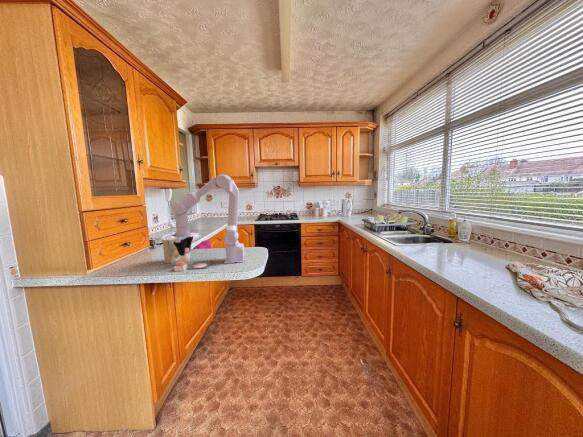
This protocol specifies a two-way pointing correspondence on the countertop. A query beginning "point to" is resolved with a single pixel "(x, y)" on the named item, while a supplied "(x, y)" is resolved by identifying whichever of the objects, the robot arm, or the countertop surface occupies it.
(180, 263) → the button
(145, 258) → the countertop surface
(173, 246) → the skincare box
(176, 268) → the button housing
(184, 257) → the rose marker
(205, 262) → the picture board
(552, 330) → the countertop surface
